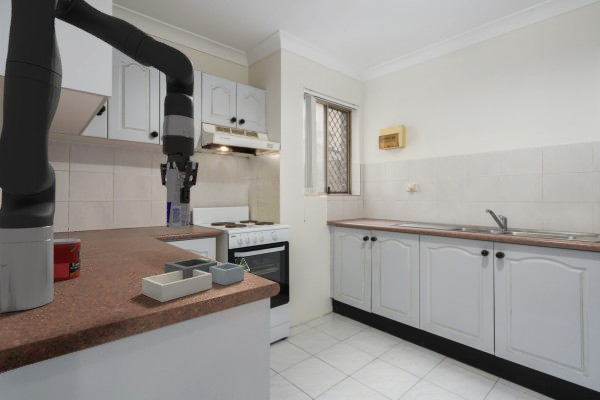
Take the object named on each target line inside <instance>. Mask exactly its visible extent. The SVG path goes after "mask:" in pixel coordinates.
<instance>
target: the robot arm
mask: <svg viewBox="0 0 600 400" xmlns="http://www.w3.org/2000/svg"><path fill="white" fill-rule="evenodd" d="M10 2H11V5H10V7H11V10H10V11H11V13H10V24H9V33H8V42H7V43H8V44H7V45H8V46H7V54H6V58H5V59H6V60H5V67H4V77H3V97H2V99H3V100H2V127H1V133H0V189H1V204H0V314H3V313H8V312H18V311H19V312H20V311H26V310H30V309H35V308H39V307H42V306H45V305H48V304H50V303H51V302H53V301H54V292H55V290H54V281H53V239H54V221H55V220H54V219H55V212H56V193H57V192H56V189H57V188H56V187H57V185H56V182H57V181H56V180H57V178H56V172H55V170H54V167H53V166H52V164H51V163H50V162H49V134H50V129H51V126H52V123H53V120H54V118H55V116H56V112H57V111H58V110H57V109H58V106H59V103H60V98H61V93H62V92H61V91H62V83H63V66H62V59H61V53H60V52H61V51H60V48H59V44H58V40H57V39H58V38H57V33H56V19H57V20H59V21H62V22H64V23H66V24H69V25H71V26H73V27H76V28H77V29H80V30H82V31H84V32H86V33H87V34H90V35H91V36H93V37H95V38H97V39H98V40H101V41H102V42H104V43H106V44H107V45H109V46H111V47H112V48H114V49H116V50H117V51H118V52H121V54H123V55H125V56H127V57H128V58H130V59H132V60H133V61H135V62H137V63H138V64H140V65H141V66H144V67H147V68H150V67H152V68H153V69H155V70H157V71H159V72H161V73H162V74H164V75H165V90H166V91H165V92H166V93H165V96H164V102H163V122H162V151H161V152H162V154H163V155H165V156H167V161H166V163H160V164H159V167H160V168H159V169H160V180H161V186H165V188H166V189H167V172H168V171H167V169H177V174H178V175H177V179H178V180H180V187H181V188H180V203H189V202H190V203H191V188H192V187H193V186H196V185H197V179H198V172H199V162H198V161H194V160H191V157H194V156H195V123H194V122H195V121H194V114H195V113H194V112H195V111H194V109H195V108H194V107H195V106H194V89H195V68H194V64H193V62H192V60H191V58H190V57H188V56H187V55H186V54H185V53H184V52H183V51H181V50H179V49H178V48H175V47H173V46H171V45H169V44H166V43H164V42H162V41H159V40H158V39H155V38H154V37H153V36H151V35H149V34H148V33H147V32H145V31H143V30H142V29H140V28H139V27H137V26H136V25H134V24H132V23H130V22H129V21H126V20H125V19H121V18H119V17H117V16H113V15H110V14H108V13H105V12H104V11H101V10H99V9H97V8H95V7H94V6H92V5H91V4H89V3H88V2H87V1H86V0H10ZM180 172H186V174H185V175H181V173H180ZM184 179H185V182H184Z"/></svg>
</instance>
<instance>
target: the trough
mask: <svg viewBox="0 0 600 400" xmlns="http://www.w3.org/2000/svg"><path fill="white" fill-rule="evenodd" d="M212 288H213V282H212V274H211V273H207V272H203V271H200V270H196V269H195V270H193V278H188V279H184V280H183V271H182V270H180V271H175V272H170V273H166V274H165V273H162V274H158V275H157V274H156V275H151V276H147V277H142V278H141V294H142V295H144V296H147V297H149V298H150V299H153V300H156V301H159V302H160V303H165V302H168V301H172V300H175V299H179V298H182V297H185V296H190V295H192V294H196V293H199V292H204V291H207V290H210V289H212Z"/></svg>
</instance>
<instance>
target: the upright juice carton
mask: <svg viewBox="0 0 600 400" xmlns="http://www.w3.org/2000/svg"><path fill="white" fill-rule="evenodd" d="M167 171H168V172H167V179H166V180H167V188H166V224H165V225H166V228H167V229H170V230H171V229H172V230H184V229H188V228H190V227H191V201H190V202H189V203H180V188H181V187H180V180H178V179H177V175H178V174H177V169H167ZM180 173H181V175H185V174H186V172H180ZM184 182H185V179H184Z"/></svg>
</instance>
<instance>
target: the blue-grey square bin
mask: <svg viewBox="0 0 600 400" xmlns="http://www.w3.org/2000/svg"><path fill="white" fill-rule="evenodd" d="M209 273H211V274H212V283H216V284H219V285H223V286H228V285H231V284H234V283H238V282H241V281H245V266H244V265H241V264H235V263H231V262H225V263H222V264H221V263H220V264H217V265H216V266H211V267H209Z"/></svg>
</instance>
